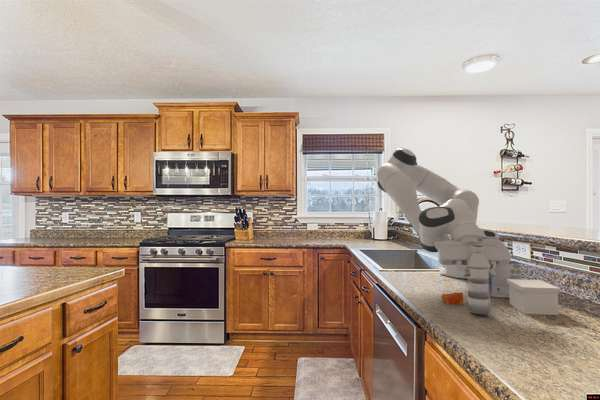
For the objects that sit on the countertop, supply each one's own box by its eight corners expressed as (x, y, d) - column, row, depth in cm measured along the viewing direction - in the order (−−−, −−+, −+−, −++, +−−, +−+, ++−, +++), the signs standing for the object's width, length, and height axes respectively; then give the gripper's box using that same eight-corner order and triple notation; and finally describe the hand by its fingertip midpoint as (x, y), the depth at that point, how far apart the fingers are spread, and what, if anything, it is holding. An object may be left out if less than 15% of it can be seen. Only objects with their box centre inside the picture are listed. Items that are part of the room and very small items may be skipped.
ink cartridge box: (516, 294, 112) (515, 254, 113) (523, 299, 107) (522, 256, 107) (485, 293, 114) (485, 253, 115) (492, 297, 109) (491, 256, 109)
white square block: (507, 303, 102) (506, 279, 103) (541, 304, 101) (540, 280, 101) (523, 314, 93) (522, 287, 93) (561, 315, 91) (560, 288, 91)
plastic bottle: (463, 313, 93) (461, 246, 93) (471, 307, 98) (469, 244, 98) (487, 319, 88) (485, 248, 88) (494, 312, 93) (492, 245, 93)
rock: (426, 299, 110) (426, 287, 110) (459, 297, 111) (459, 285, 111) (445, 310, 98) (445, 297, 98) (481, 309, 99) (481, 295, 99)
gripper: (434, 233, 102) (443, 269, 92) (503, 232, 98) (520, 270, 88) (431, 244, 106) (440, 280, 96) (497, 245, 103) (513, 282, 93)
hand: (479, 275), depth 92 cm, fingers closed on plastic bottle, 6 cm apart
